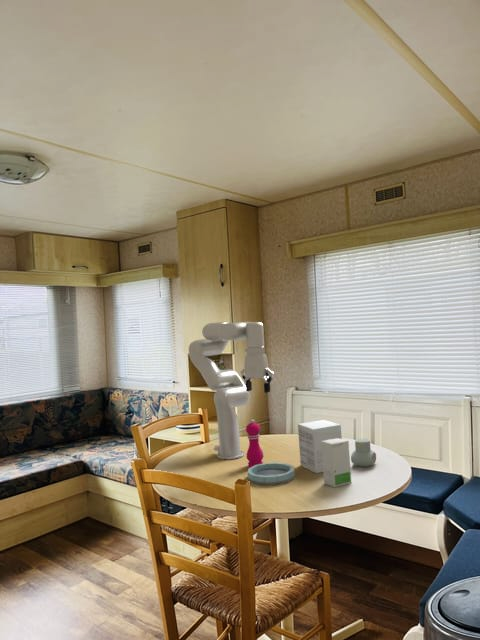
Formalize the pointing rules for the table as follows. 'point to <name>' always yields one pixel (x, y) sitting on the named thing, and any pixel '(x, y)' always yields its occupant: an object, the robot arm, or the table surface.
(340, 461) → the skincare box
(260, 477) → the round tray
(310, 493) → the table surface
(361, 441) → the air freshener
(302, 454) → the supplement box
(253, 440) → the pepper mill
